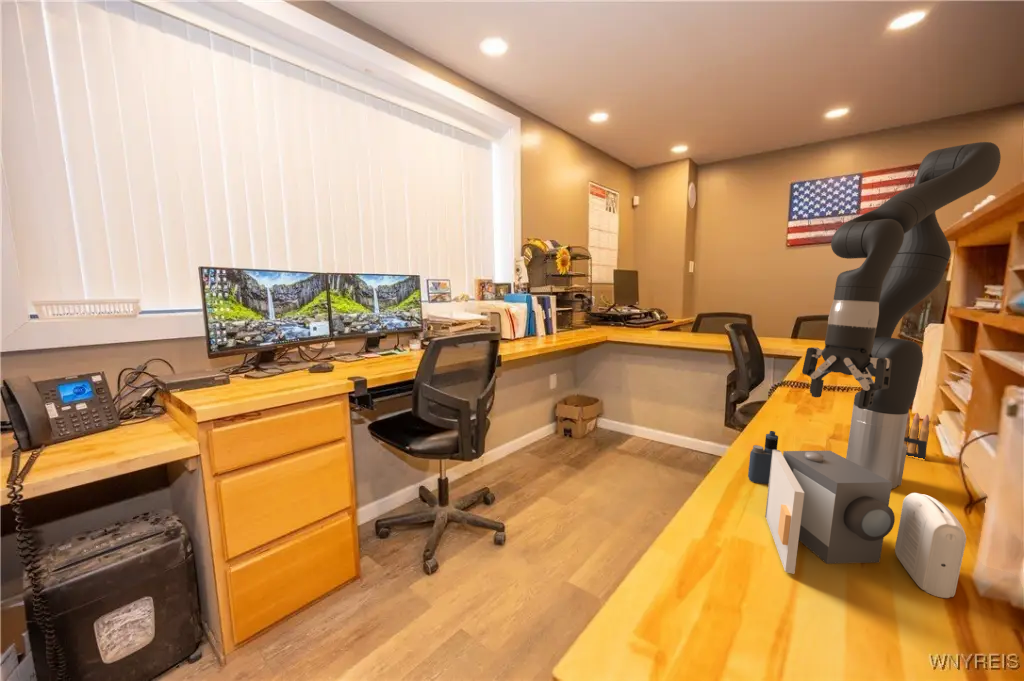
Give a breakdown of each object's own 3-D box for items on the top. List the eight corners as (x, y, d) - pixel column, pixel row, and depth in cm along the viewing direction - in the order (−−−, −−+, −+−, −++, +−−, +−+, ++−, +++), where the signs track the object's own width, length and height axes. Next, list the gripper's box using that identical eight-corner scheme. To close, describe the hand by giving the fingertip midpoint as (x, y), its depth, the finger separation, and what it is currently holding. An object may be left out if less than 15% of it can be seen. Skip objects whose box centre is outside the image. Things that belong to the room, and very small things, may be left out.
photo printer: (960, 603, 58) (975, 523, 56) (920, 593, 59) (934, 516, 58) (923, 558, 67) (935, 489, 65) (889, 551, 69) (900, 483, 67)
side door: (772, 516, 78) (780, 450, 76) (795, 574, 63) (805, 493, 60) (761, 514, 79) (768, 448, 77) (779, 570, 63) (789, 490, 61)
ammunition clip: (870, 447, 112) (876, 406, 110) (871, 446, 113) (877, 404, 111) (924, 461, 104) (932, 416, 102) (925, 459, 105) (932, 414, 103)
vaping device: (775, 485, 91) (781, 434, 89) (750, 482, 92) (755, 432, 90) (770, 479, 93) (776, 430, 92) (746, 477, 94) (750, 428, 93)
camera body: (821, 519, 78) (830, 446, 76) (893, 572, 64) (907, 485, 62) (775, 520, 78) (783, 447, 75) (837, 573, 63) (850, 485, 61)
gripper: (907, 328, 76) (891, 411, 78) (824, 320, 89) (812, 392, 91) (885, 327, 73) (869, 414, 75) (802, 319, 86) (791, 394, 88)
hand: (838, 402), depth 83 cm, fingers open, 8 cm apart
